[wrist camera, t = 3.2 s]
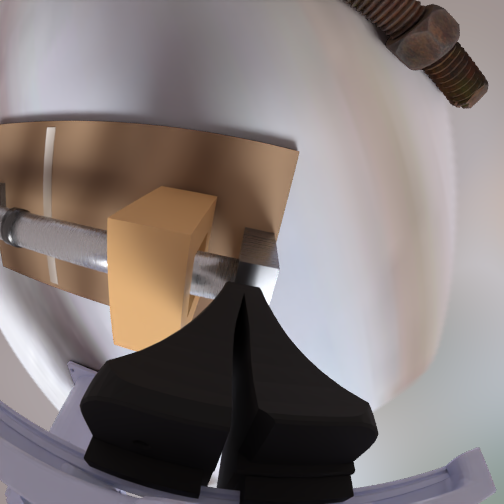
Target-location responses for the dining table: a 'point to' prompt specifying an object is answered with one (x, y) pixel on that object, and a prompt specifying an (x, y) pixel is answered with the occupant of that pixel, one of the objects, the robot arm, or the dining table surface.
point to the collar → (155, 263)
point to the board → (135, 185)
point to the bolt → (428, 46)
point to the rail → (95, 250)
